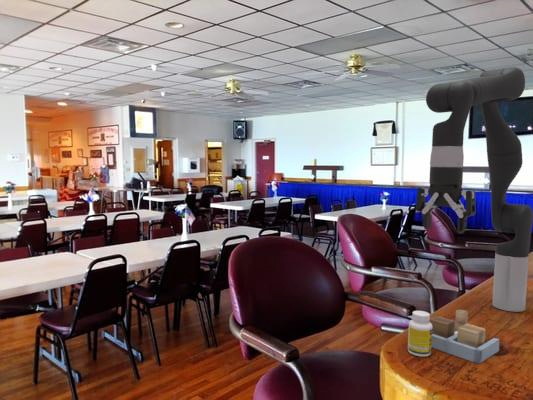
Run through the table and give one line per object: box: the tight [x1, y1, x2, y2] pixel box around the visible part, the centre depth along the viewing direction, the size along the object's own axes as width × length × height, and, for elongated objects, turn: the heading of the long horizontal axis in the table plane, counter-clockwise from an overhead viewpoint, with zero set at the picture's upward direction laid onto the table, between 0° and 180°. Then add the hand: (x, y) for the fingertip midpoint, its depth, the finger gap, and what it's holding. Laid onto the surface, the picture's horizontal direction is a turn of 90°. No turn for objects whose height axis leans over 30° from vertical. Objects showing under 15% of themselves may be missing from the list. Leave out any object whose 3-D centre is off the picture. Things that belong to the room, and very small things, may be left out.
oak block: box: [457, 323, 487, 348], centre depth 106 cm, size 5×5×6 cm
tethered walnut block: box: [429, 309, 469, 338], centre depth 115 cm, size 14×5×6 cm, turn 130°
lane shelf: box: [431, 333, 500, 365], centre depth 109 cm, size 11×16×3 cm
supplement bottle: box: [407, 310, 432, 358], centre depth 105 cm, size 5×5×10 cm
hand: (443, 230), depth 108 cm, fingers open, 8 cm apart
